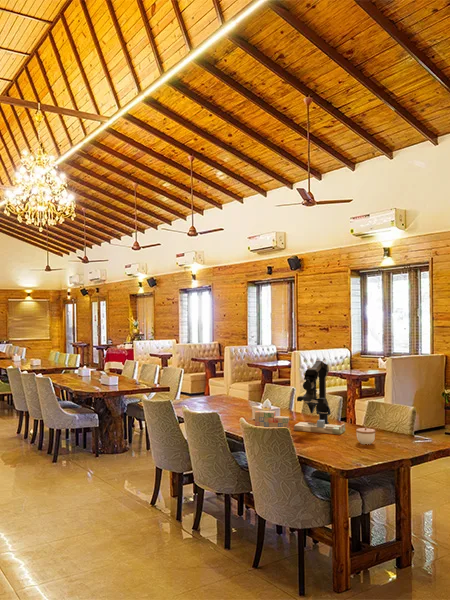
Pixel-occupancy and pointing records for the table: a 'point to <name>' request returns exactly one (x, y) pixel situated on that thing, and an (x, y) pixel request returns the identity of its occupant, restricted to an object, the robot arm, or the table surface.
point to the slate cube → (321, 423)
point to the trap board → (320, 428)
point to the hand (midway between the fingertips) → (311, 413)
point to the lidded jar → (365, 435)
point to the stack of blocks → (270, 419)
